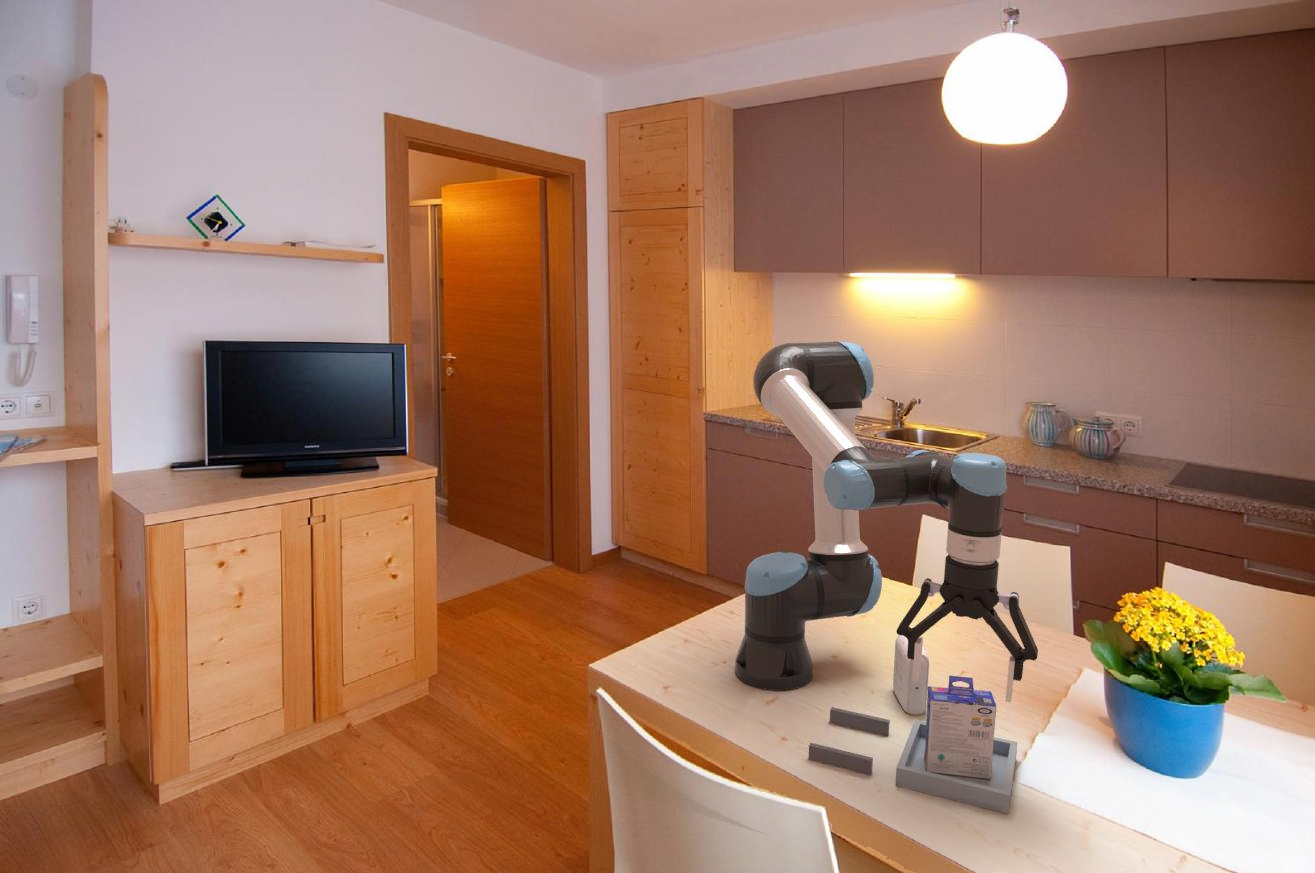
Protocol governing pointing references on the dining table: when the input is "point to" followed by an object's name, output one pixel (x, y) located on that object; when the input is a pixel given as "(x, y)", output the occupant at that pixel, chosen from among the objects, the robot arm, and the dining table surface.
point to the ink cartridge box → (960, 730)
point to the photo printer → (910, 679)
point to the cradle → (843, 757)
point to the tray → (954, 786)
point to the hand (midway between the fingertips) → (961, 688)
